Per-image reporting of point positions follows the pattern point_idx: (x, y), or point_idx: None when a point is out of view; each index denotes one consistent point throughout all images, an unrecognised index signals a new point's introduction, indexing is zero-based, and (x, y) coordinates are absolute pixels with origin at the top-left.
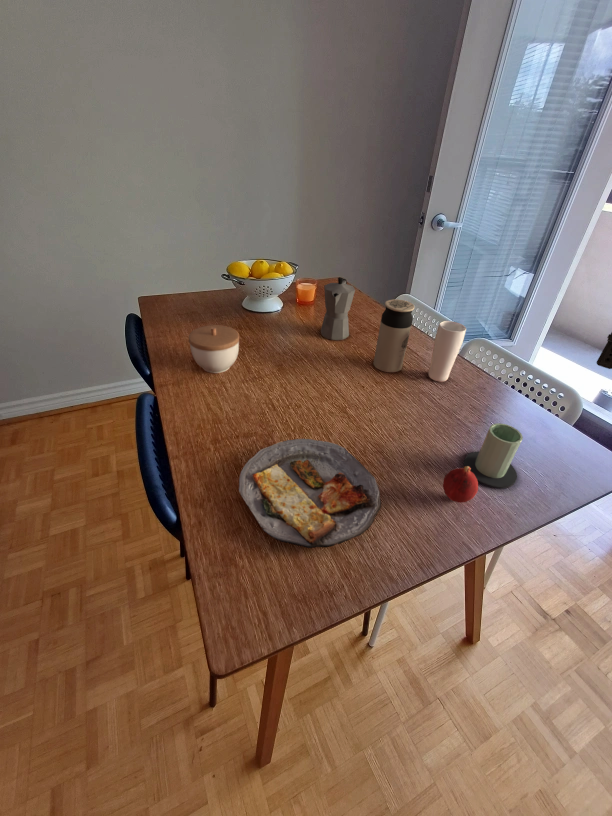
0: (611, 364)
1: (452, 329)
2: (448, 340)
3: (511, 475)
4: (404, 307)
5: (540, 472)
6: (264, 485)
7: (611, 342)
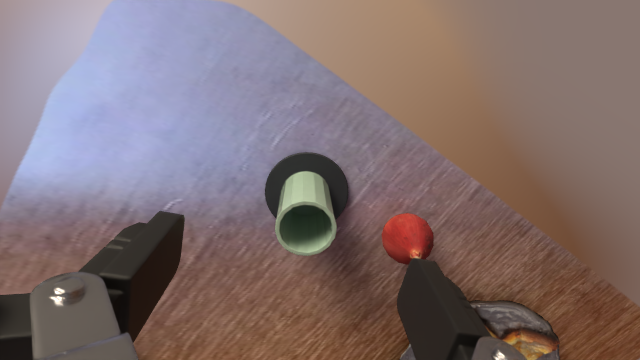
0: (456, 286)
1: None
2: None
3: (305, 162)
4: None
5: (261, 116)
6: None
7: None
